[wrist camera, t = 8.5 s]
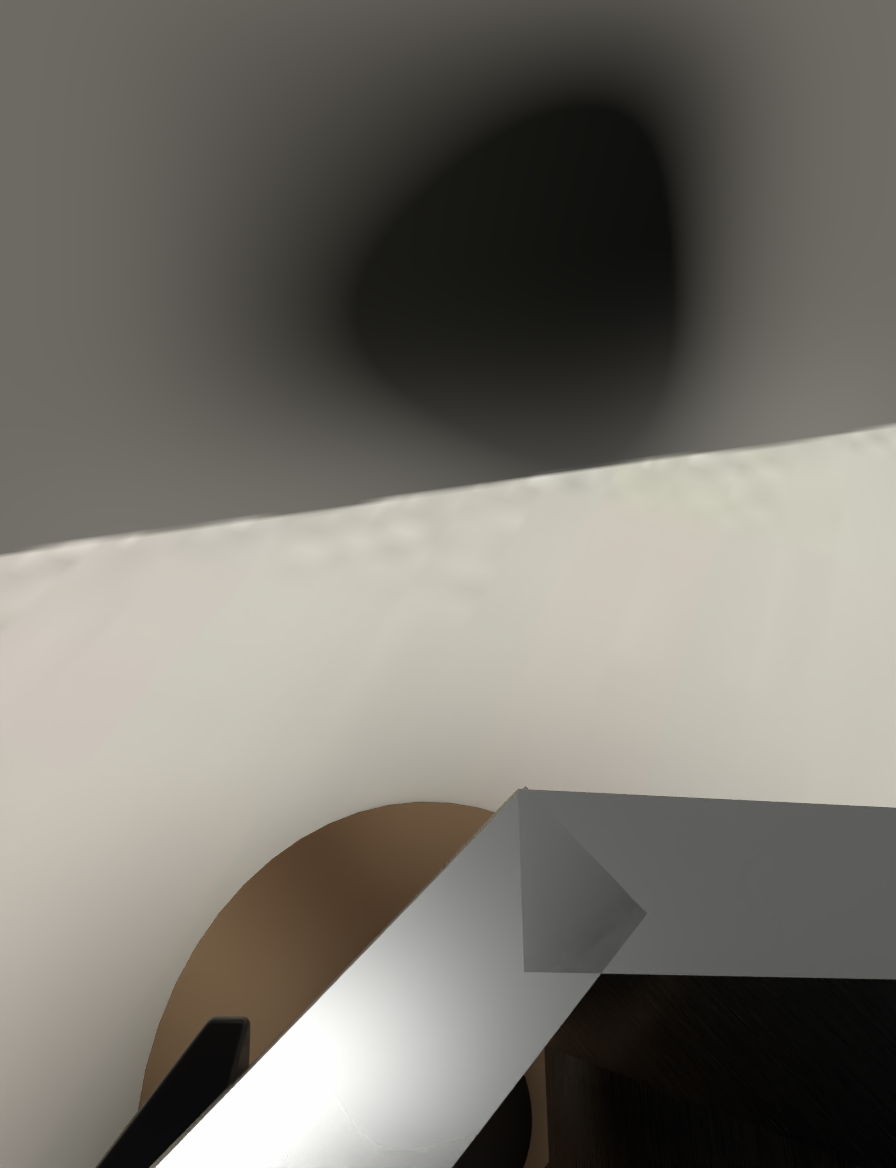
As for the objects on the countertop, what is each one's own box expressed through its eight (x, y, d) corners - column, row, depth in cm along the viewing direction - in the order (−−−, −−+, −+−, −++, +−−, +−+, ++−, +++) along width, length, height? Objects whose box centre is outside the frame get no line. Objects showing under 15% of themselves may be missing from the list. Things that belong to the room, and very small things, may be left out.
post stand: (380, 1705, 10) (407, 2215, 6) (42, 1054, 14) (-95, 1095, 9) (775, 1104, 15) (948, 1159, 11) (450, 723, 18) (483, 650, 14)
